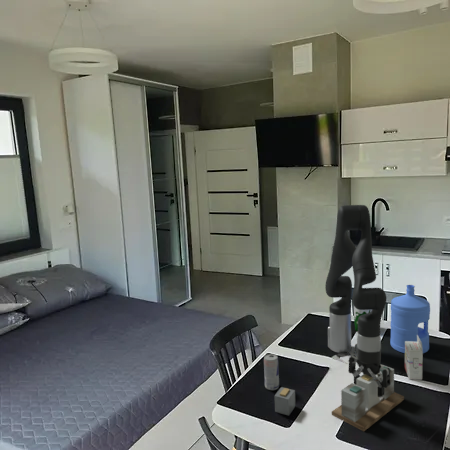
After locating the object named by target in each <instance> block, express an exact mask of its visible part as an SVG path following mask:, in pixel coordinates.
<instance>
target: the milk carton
mask: <svg viewBox="0 0 450 450" xmlns="http://www.w3.org/2000/svg"><path fill="white" fill-rule="evenodd" d="M371 311H372V310H359V309H357V308H355V306H354V305H353V322H354V330H355V331H356V332H358V318H359V316H361V315H363V314H367V313H370V312H371Z"/></svg>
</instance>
